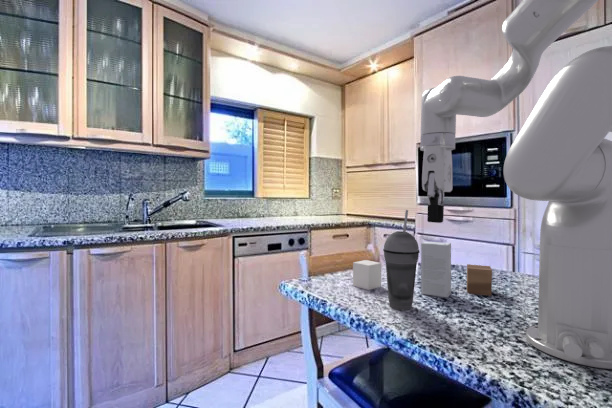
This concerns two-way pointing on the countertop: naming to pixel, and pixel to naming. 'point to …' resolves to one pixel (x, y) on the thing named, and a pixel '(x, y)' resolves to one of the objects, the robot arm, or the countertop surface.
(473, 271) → the walnut block
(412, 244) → the beverage cup
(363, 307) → the countertop surface
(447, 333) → the countertop surface
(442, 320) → the countertop surface
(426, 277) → the skincare box
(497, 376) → the countertop surface
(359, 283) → the off-white block
